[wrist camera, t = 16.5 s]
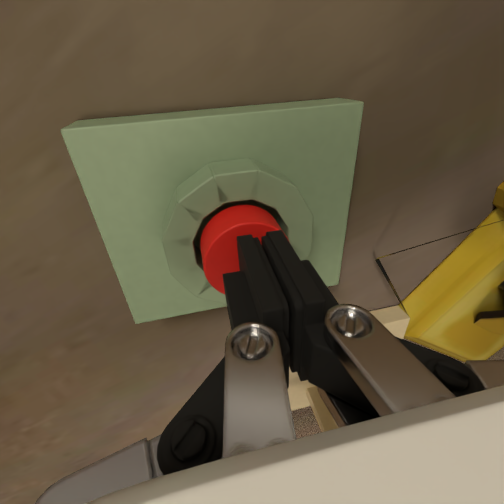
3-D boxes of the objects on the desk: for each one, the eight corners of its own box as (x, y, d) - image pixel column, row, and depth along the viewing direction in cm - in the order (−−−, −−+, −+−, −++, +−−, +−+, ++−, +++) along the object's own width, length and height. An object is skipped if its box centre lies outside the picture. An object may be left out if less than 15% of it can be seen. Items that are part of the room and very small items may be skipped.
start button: (279, 198, 12) (293, 215, 11) (279, 267, 14) (291, 290, 13) (193, 210, 12) (196, 230, 10) (206, 280, 14) (209, 305, 12)
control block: (340, 97, 14) (391, 106, 11) (323, 264, 19) (353, 304, 16) (76, 120, 12) (39, 139, 9) (139, 298, 18) (131, 351, 14)
